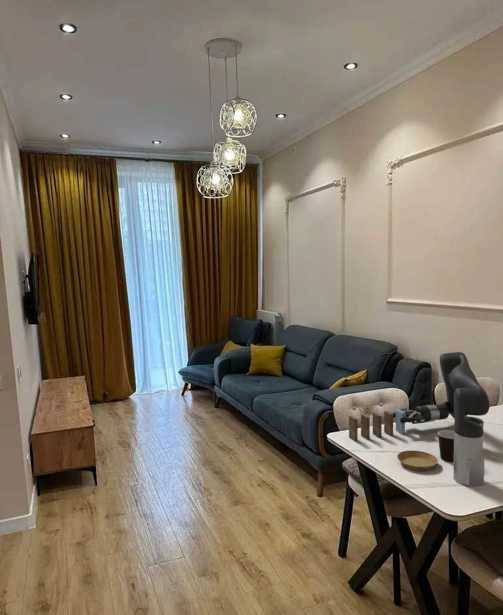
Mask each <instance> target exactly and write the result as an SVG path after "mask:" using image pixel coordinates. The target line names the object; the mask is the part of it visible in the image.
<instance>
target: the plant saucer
mask: <svg viewBox="0 0 503 615" xmlns="http://www.w3.org/2000/svg"><path fill="white" fill-rule="evenodd" d="M397 459H398V461H399V462H400V463H401V464H402V465H403V466H404V467H406V468H408V469H411V470H414V471H428V470H430V469H433V467H435V466H436V465H437V463H438V458H437V457H436V456H435V455H433V454H431V453H428V452H426V451H421V450H413V449H412V450H404V451H401V452H399V453H397Z"/></svg>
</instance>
